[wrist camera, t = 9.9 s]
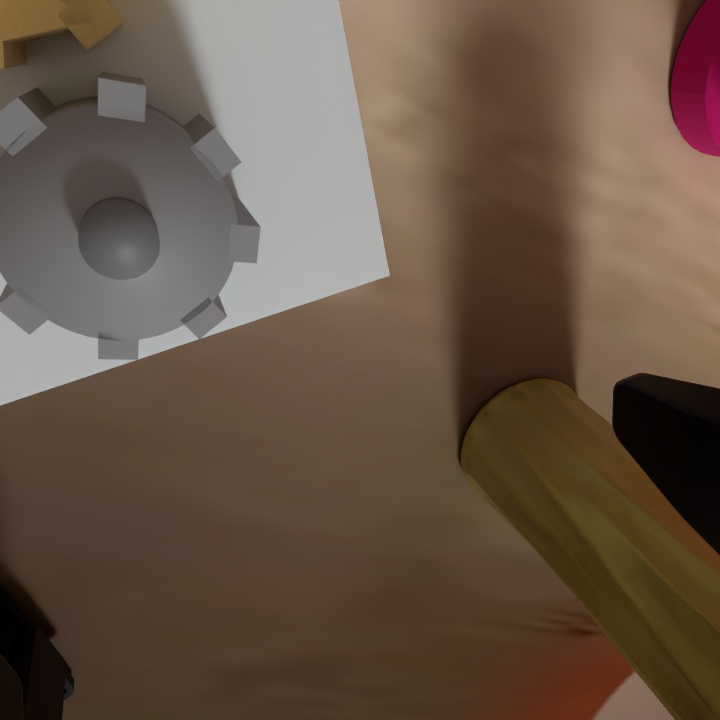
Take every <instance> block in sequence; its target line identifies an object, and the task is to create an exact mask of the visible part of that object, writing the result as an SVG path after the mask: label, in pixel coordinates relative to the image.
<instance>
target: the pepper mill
mask: <svg viewBox="0 0 720 720" xmlns="http://www.w3.org/2000/svg"><path fill="white" fill-rule="evenodd" d="M671 105H672V110H673V115H674V120H675V124H676V126H677V127H678V129H679V131H680V133H681V135H682V137H683V138H684V139H685V140H686V141H687V142H688V144H689V145H690V146H691V147H693V148H694V149H696V150H698V151H699V152H701V153H704V154H708V155H712V156H718V157H720V0H706V1H705V2H704V3H703V4H702V6H701V7H700V9H699V10H698V12H697V13H696V15H695V17H694V18H693V20H692V21H691V23H690V24H689V27H688V29H687V31H686V33H685V36H684V38H683V40H682V43H681V45H680V47H679V50H678V52H677V56H676V60H675V65H674V69H673V74H672V79H671Z"/></svg>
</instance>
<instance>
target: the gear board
mask: <svg viewBox="0 0 720 720" xmlns="http://www.w3.org/2000/svg"><path fill="white" fill-rule="evenodd" d="M109 4H110V5H111V6H112V8H113V9H114V10H115V11H116V13H117V14H118V15H119V16H120V18H121V19H122V26H120V27H119V28H118V29H117V30H115V31H114V32H113V33H112V34H111V35H109V36H108V37H107V38H106V39H105V40H103V41H102V42H101V43H100V44H99V45H97V46H96V47H95V48H94V49H89V50H86V49H85V47H84V46H83V45H82V44H81V43H80V41H79V40H78V39H77V38H76V37H75V35H74V34H73V33H72V32H67V33H63V34H58V35H54V36H49V37H45V38H40V39H36V40H31V41H27V42H26V57H27V64H25V65H20V66H16V67H11V68H6V69H3V68H0V405H3V404H6V403H9V402H12V401H15V400H18V399H21V398H24V397H27V396H30V395H33V394H36V393H39V392H42V391H45V390H48V389H51V388H54V387H57V386H60V385H63V384H66V383H69V382H72V381H75V380H78V379H81V378H84V377H87V376H90V375H93V374H96V373H99V372H102V371H105V370H108V369H111V368H114V367H117V366H120V365H123V364H126V363H129V362H132V361H135V360H138V359H141V358H144V357H147V356H150V355H153V354H156V353H159V352H162V351H165V350H168V349H171V348H174V347H177V346H180V345H183V344H186V343H189V342H192V341H195V340H198V339H201V338H204V337H207V336H210V335H213V334H216V333H219V332H222V331H225V330H228V329H231V328H234V327H237V326H240V325H243V324H246V323H249V322H252V321H255V320H258V319H261V318H264V317H267V316H270V315H273V314H276V313H279V312H282V311H285V310H288V309H291V308H294V307H297V306H300V305H303V304H306V303H309V302H312V301H315V300H318V299H321V298H324V297H327V296H330V295H333V294H336V293H339V292H342V291H345V290H348V289H351V288H354V287H357V286H360V285H363V284H366V283H369V282H372V281H375V280H378V279H381V278H384V277H387V276H390V275H389V269H388V264H387V259H386V253H385V248H384V242H383V237H382V232H381V226H380V221H379V215H378V210H377V205H376V199H375V194H374V189H373V183H372V178H371V172H370V167H369V162H368V156H367V151H366V145H365V140H364V135H363V129H362V124H361V118H360V113H359V108H358V102H357V97H356V91H355V86H354V81H353V75H352V70H351V64H350V59H349V54H348V48H347V43H346V37H345V32H344V27H343V21H342V16H341V10H340V5H339V0H110V1H109Z"/></svg>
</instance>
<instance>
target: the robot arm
mask: <svg viewBox="0 0 720 720" xmlns="http://www.w3.org/2000/svg"><path fill="white" fill-rule="evenodd" d="M612 426H613V430H614V433H615V435H616V437H617V439H618V440H619V442H620V443H621V444H622V445H623V447H624V448H625V449H626V450H627V451H628V453H629V454H630V455H631V456H632V458H633V459H634V460H635V461H636V462H637V464H638V465H639V466H640V467H641V469H642V470H643V471H644V472H645V473H646V475H647V476H648V477H649V478H650V480H651V481H652V482H653V483H654V484H655V486H656V487H657V488H658V489H659V490H660V492H661V493H662V494H663V495H664V497H665V498H666V499H667V500H668V501H669V503H670V504H671V505H672V506H673V507H674V509H675V510H676V511H677V512H678V513H679V514H680V515H681V517H682V518H683V519H684V520H685V521H686V522H687V523H688V524H689V525H690V526H691V527H692V528H693V529H694V530H695V531H696V532H697V533H698V534H699V535H700V536H701V537H702V538H703V539H704V540H705V541H706V542H707V543H708V544H709V545H710V546H711V547H712V548H713V549H714V550H715V551H716V552H717V553H718V554H719V555H720V389H719V388H714V387H709V386H704V385H700V384H695V383H690V382H685V381H680V380H676V379H671V378H666V377H661V376H656V375H652V374H647V373H638V374H634V375H632V376H629V377H627V378H624V379H622V380H620V381H618V382H617V383H616V384H615V386H614V389H613V416H612ZM66 668H67V663H66V661H65V660H64V659H63V657H62V656H61V655H60V653H59V652H58V651H57V650H56V648H55V647H54V646H53V644H52V643H51V642H50V640H49V639H48V638H47V637H46V635H45V634H44V633H43V631H42V630H41V629H40V627H39V626H38V625H36V624H34V623H32V622H31V623H30V621H29V620H28V619H27V617H26V616H25V615H24V614H23V612H22V611H21V610H20V608H19V607H18V606H17V605H16V603H15V602H14V601H13V599H12V598H11V597H10V595H9V594H8V593H7V592H6V590H5V589H4V588H2V587H1V586H0V720H62V713H63V701H64V699H66V698H68V697H70V696H71V695H72V693H73V691H74V678H73V677H72V675H71V674H70V673H69V672H68V670H67V669H66Z"/></svg>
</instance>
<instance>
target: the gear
mask: <svg viewBox="0 0 720 720" xmlns="http://www.w3.org/2000/svg"><path fill="white" fill-rule="evenodd" d="M109 1H110V0H0V68H3V69H6V68H11V67H16V66H20V65H25V64H27V57H26V42H27V41H31V40H36V39H40V38H45V37H49V36H54V35H58V34H63V33H67V32H72V33H73V34H74V35H75V37H76V38H77V39H78V40H79V41H80V43H81V44H82V45H83V46H84V47H85V49H86V50H89V49H94V48H95V47H96V46H97V45H99V44H100V43H101V42H102V41H103V40H105V39H106V38H107V37H108V36H109V35H111V34H112V33H113V32H114V31H115V30H117V29H118V28H119V27H120V26H122V19H121V18H120V16H119V15H118V14H117V13H116V11H115V10H114V9H113V8H112V6H111V5H110V4H109Z"/></svg>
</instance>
